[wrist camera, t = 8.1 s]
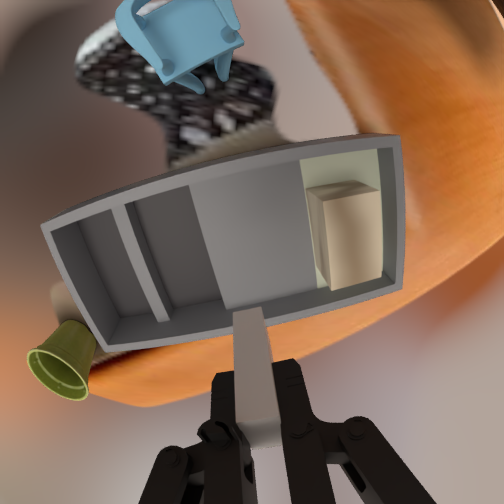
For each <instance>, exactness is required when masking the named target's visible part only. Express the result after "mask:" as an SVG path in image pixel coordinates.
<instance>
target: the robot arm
mask: <svg viewBox="0 0 504 504" xmlns="http://www.w3.org/2000/svg"><path fill="white" fill-rule="evenodd" d="M492 1H493V3H494V4H495V6H496V7H497V9H498V10H499V12H500V13H501V15H502V16H503V18H504V0H492ZM233 347H234V371H227V372H221V373H216V375H215V377H214V379H213V381H212V389H211V392H212V394H211V416H210V420H208V421H206V422H204V423H203V424H202V425H201V426H200V428H199V429H198V432H197V435H198V436H199V437H200V438H201V440H202V442H200V443H198V444H195V445H192V446H189V447H187V448H184V449H183V448H181V447H178V446H168V447H165V448H164V449H162V450H161V451H160V452H159V454H158V455H157V458H156V460H155V463H154V465H153V468H152V470H151V473H150V475H149V478H148V481H147V483H146V486H145V488H144V490H143V493H142V496H141V498H140V501H139V503H138V504H258V500H257V491H256V480H255V469H254V461H253V458H252V456H251V450H250V447H251V448H252V450H254V449H262V448H269V447H275V446H281V445H283V451H284V458H285V464H286V470H287V477H288V482H289V489H290V496H291V502H292V504H336V502H335V498H334V493H333V489H332V485H331V481H330V477H329V472H328V468H327V464H339V465H340V466H341V468H342V469H343V471H344V472H345V474H346V476H347V477H348V479H349V480H350V482H351V483H352V485H353V487H354V488H355V490H356V491H357V493H358V494H359V496H360V497H361V499H362V500H363V502H364V503H365V504H436V502H435V501H434V500H433V499H432V497H431V496H430V495H429V494H428V492H427V491H426V490H425V489H424V487H423V486H422V485H421V483H420V482H419V481H418V480H417V479H416V477H415V476H414V475H413V473H412V472H411V471H410V470H409V468H408V467H407V466H406V464H405V463H404V462H403V461H402V459H401V458H400V457H399V455H398V454H397V453H396V452H395V450H394V449H393V448H392V446H391V445H390V444H389V443H388V441H387V440H386V439H385V438H384V436H383V435H382V434H381V432H380V431H379V430H378V428H377V427H376V426H375V425H374V423H373V422H372V421H371V420H369V419H368V418H365V417H362V416H360V417H359V416H356V417H353V418H349V419H347V420H346V421H345V422H344V423H329V422H324V421H321V420H319V419H318V418H316V416H315V415H314V414H313V412H312V409H311V405H310V401H309V397H308V394H307V390H306V386H305V382H304V378H303V375H302V371H301V367H300V365H299V364H298V363H297V362H296V361H295V360H294V358H292V359H288V360H283V361H278V362H273V356H272V351H271V345H270V340H269V336H268V332H267V328H266V324H265V320H264V316H263V312H262V308H261V307H256V308H251V309H247V310H242V311H237V312H233Z"/></svg>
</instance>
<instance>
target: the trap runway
mask: <svg viewBox="0 0 504 504" xmlns="http://www.w3.org/2000/svg"><path fill="white" fill-rule="evenodd" d="M349 180H356V181H359V182H361V183H363V184H366V185H368V186H370V187H373V188H375V189H377V190H379V191H380V201H381V223H382V275H381V277H379V278H376V279H372V280H369V281H366V282H362V283H358V284H355V285H351V286H348V287H344V288H340V289H337V290H333V291H331V289H330V288H329V286H328V284H327V283H326V281H325V279H324V278H323V276H322V274H321V273H320V271H319V270H318V268H317V266H316V263H315V255H314V247H313V239H312V231H311V224H310V217H309V210H308V203H307V197H306V190H305V188H311V187H316V186H321V185H327V184H332V183H338V182H343V181H349ZM40 226H41V228H42V231H43V234H44V236H45V239H46V241H47V244H48V246H49V249H50V251H51V253H52V255H53V258H54V260H55V263H56V265H57V267H58V269H59V271H60V273H61V276H62V278H63V280H64V282H65V284H66V286H67V288H68V290H69V292H70V294H71V296H72V297H73V299H74V301H75V303H76V305H77V307H78V309H79V310H80V312H81V314H82V316H83V317H84V319H85V321H86V323H87V324H88V326H89V328H90V329H91V331H92V333H93V334H94V336H95V337H96V339H97V341H98V342H99V344H100V345H101V347H102V348H103V350H104V351H105V353H106V352H116V351H126V350H135V349H143V348H151V347H158V346H165V345H172V344H179V343H185V342H191V341H197V340H203V339H209V338H215V337H220V336H225V335H230V334H233V312H237V311H242V310H247V309H251V308H256V307H261V308H262V312H263V316H264V320H265V324H266V327H269V326H273V325H277V324H282V323H286V322H290V321H294V320H298V319H302V318H306V317H310V316H314V315H318V314H322V313H325V312H329V311H333V310H336V309H340V308H343V307H347V306H350V305H354V304H357V303H360V302H364V301H367V300H370V299H373V298H377V297H380V296H383V295H386V294H389V293H392V292H395V291H398V290H401V289H402V285H403V273H404V257H405V186H404V170H403V158H402V148H401V140H400V135H391V134H378V133H367V134H357V135H348V136H340V137H332V138H324V139H317V140H310V141H304V142H298V143H292V144H286V145H281V146H275V147H270V148H265V149H260V150H255V151H250V152H246V153H241V154H237V155H232V156H228V157H224V158H220V159H216V160H212V161H208V162H204V163H200V164H196V165H193V166H189V167H185V168H182V169H178V170H175V171H171V172H168V173H165V174H161V175H158V176H155V177H152V178H149V179H145V180H143V181H139V182H137V183H134V184H130V185H128V186H125V187H122V188H119V189H116V190H113V191H111V192H108V193H105V194H103V195H100V196H97V197H95V198H92V199H90V200H87V201H85V202H82V203H80V204H77V205H75V206H72V207H70V208H67V209H66V210H64V211H62V212H61V213H59V214H57V215H56V216H54V217H52V218H50V219H49V220H47V221H46V222H44V223H43V224H41V225H40Z"/></svg>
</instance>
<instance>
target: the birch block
mask: <svg viewBox="0 0 504 504" xmlns="http://www.w3.org/2000/svg"><path fill="white" fill-rule="evenodd" d="M305 190H306V197H307V203H308V210H309V217H310V224H311V231H312V239H313V247H314V255H315V263H316V266H317V268H318V270H319V271H320V273H321V274H322V276H323V278H324V279H325V281H326V283H327V284H328V286H329V288H330V289H331V291H333V290H337V289H340V288H344V287H348V286H351V285H355V284H358V283H362V282H366V281H369V280H372V279H376V278H379V277H381V275H382V223H381V201H380V191H379V190H377V189H375V188H373V187H370V186H368V185H366V184H363V183H361V182H359V181H356V180H349V181H343V182H338V183H332V184H327V185H321V186H316V187H311V188H305Z"/></svg>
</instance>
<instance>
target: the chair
mask: <svg viewBox="0 0 504 504" xmlns="http://www.w3.org/2000/svg"><path fill="white" fill-rule="evenodd" d="M149 1H151V0H124V1H123V2H122V3H121V4H120V6H119V7H118V8H117V10H116V13H115V20H116V25H117V28H118V30H119V32H120V34H121V35H122V36H123V38H124V39H125V40H126V41H127V42H128V43H129V44H130V45H131V46H132V47H133V48H134V49H135V50H136V51H137V52H139V53H140V54H141V55H142V56H143V57H144V58H145V59H146V60H147V61H148V62H149V63H150V64H151V65H152V67H153V68H154V69H155V71H156V72H157V74H158V75H159V77H160V79H161V80H162V82H163V84H164V85H166V86H167V85H168V84H170V83H172V82H173V81H174V82H176V83H179V84H181V85H184V86H186V87H188V88H190V89H193V90H194V91H195V92H196V93H198V94H203V93H204V92H205V87H204V85H203V83H202V82H201V81H200V80H199V79H198V78H197V77H196V76H194V75H193V74H192V73H191V72H190V71H192V70H193V69H195V68H197V67H199V66H200V65H202V64H204V63H206V62H208V61H210V60H212V59H214V64H215V68H216V72H217V74H218V77H219V79H220V80H221V81H223V82H226V81H228V79H229V69H230V64H231V59H232V55H233V50H234V49H236V48H239V47H241V46H243V45H244V41H243V39H242V38H241V36H240V35H239V33H238V32H237V30H239V29H240V23H239V21H238V19H237V16H236V14H235V11H234V8H233V5H232V1H231V0H173V1H171V2H169V3H167V4H165V5H163V6H162V7H160V8H158V9H156V10H154V11H152V12H150V13H148V14H147V15H145V16H143V17H141V16H139V15H137V14H136V13H137V12H138V10H139V9H140V8H141V7H142V6H144V5H145V4H146V3H148V2H149Z"/></svg>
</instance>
